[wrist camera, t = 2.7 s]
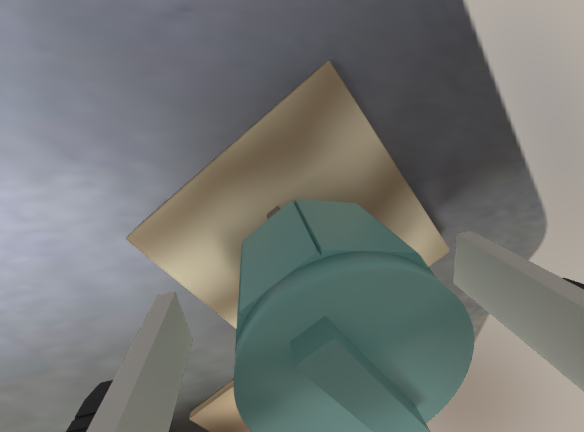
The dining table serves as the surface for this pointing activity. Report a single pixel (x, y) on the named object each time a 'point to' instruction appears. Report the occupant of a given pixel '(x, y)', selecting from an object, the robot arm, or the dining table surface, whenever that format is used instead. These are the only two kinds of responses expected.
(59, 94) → the dining table surface
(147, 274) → the dining table surface
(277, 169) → the post base
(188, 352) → the robot arm
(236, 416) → the coaster
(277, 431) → the cap
